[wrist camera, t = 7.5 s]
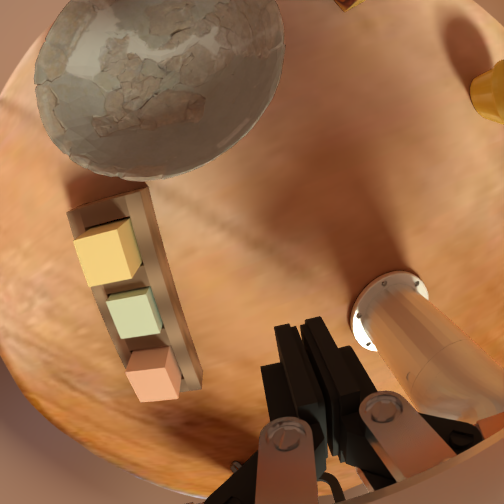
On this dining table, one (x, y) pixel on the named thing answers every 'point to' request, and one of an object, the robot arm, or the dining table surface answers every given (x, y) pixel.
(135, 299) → the pale green cube
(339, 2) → the candy box
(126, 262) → the yellow cube
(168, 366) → the salmon pink cube
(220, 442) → the dining table surface
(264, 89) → the ceramic bowl
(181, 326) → the wooden tray
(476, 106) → the plant pot
